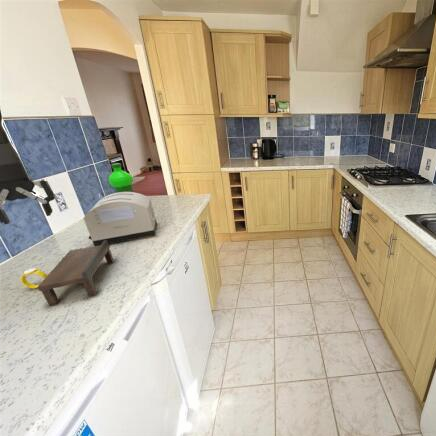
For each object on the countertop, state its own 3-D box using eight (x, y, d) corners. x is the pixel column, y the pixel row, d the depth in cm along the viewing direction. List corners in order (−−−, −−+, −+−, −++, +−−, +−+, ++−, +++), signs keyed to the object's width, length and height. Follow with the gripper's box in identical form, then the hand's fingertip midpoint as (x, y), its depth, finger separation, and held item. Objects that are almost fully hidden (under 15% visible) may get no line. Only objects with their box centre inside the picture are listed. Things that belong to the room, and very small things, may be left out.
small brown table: (48, 306, 66) (34, 282, 63) (77, 267, 83) (68, 246, 80) (96, 295, 69) (85, 272, 66) (114, 260, 87) (107, 239, 83)
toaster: (91, 249, 94) (73, 207, 87) (106, 225, 115) (93, 190, 108) (157, 236, 103) (146, 197, 96) (160, 216, 124) (151, 183, 117)
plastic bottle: (141, 204, 141) (128, 161, 131) (139, 210, 132) (125, 164, 122) (121, 207, 137) (106, 163, 127) (117, 213, 128) (101, 166, 118)
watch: (53, 282, 76) (45, 266, 73) (47, 287, 73) (39, 271, 71) (31, 285, 75) (21, 269, 72) (24, 291, 72) (14, 274, 70)
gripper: (39, 156, 70) (62, 209, 76) (-37, 163, 61) (-5, 221, 68) (36, 160, 64) (60, 216, 71) (-49, 168, 56) (-12, 230, 63)
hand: (29, 219), depth 69 cm, fingers open, 8 cm apart
